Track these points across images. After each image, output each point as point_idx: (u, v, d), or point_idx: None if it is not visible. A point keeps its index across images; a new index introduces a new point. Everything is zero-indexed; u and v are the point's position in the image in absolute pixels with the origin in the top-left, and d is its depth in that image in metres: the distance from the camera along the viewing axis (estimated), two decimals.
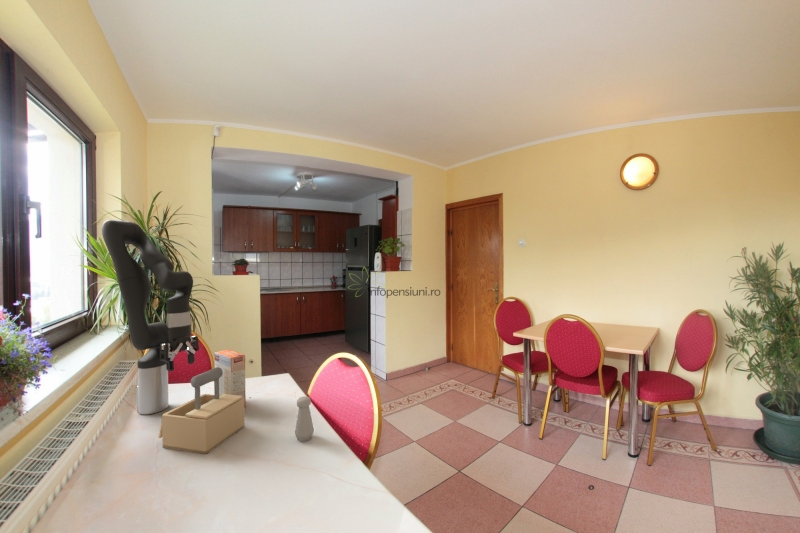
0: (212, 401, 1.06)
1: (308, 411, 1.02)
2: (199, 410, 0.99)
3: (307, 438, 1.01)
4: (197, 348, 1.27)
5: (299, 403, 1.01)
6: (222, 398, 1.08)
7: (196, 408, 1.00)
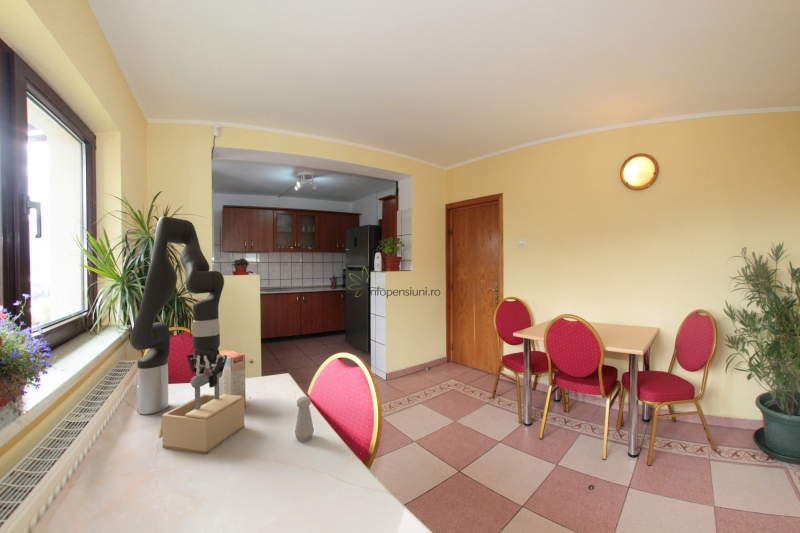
0: (212, 401, 1.06)
1: (308, 411, 1.02)
2: (199, 410, 0.99)
3: (307, 438, 1.01)
4: None
5: (299, 403, 1.01)
6: (222, 398, 1.08)
7: (196, 408, 1.00)
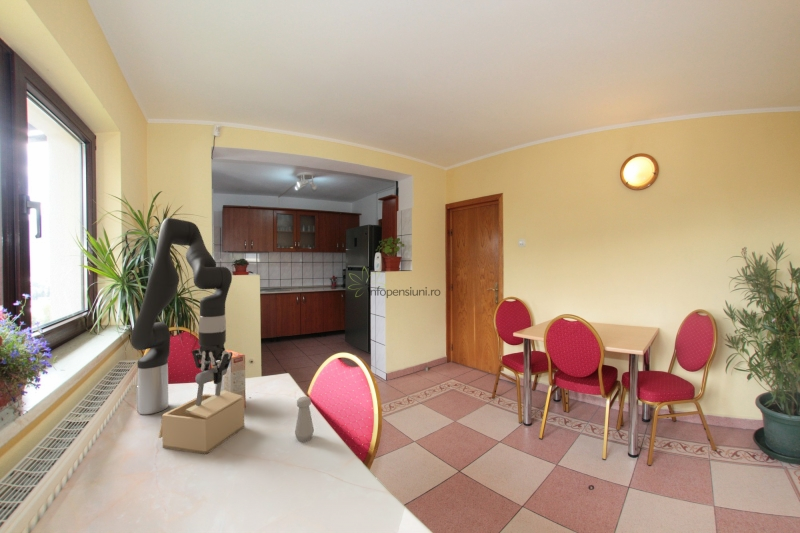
0: (213, 397, 1.05)
1: (308, 411, 1.02)
2: (200, 407, 0.99)
3: (307, 438, 1.01)
4: None
5: (299, 403, 1.01)
6: (223, 395, 1.08)
7: (197, 404, 1.00)
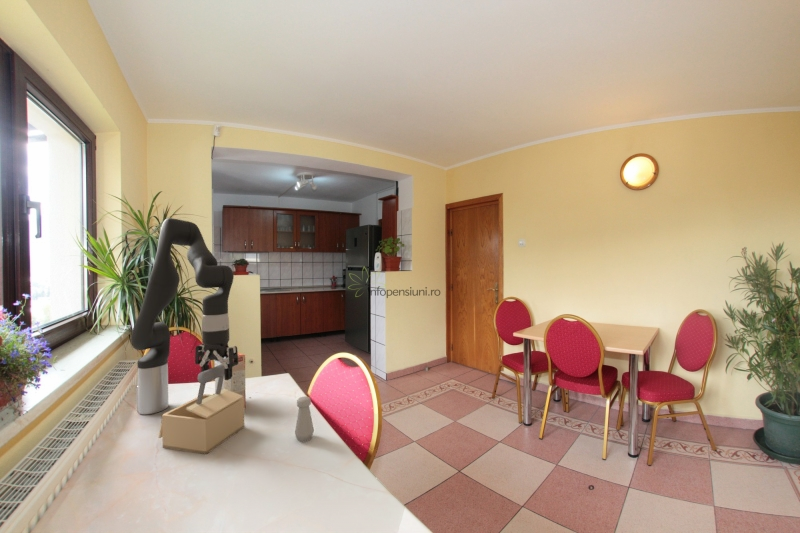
0: (213, 396, 1.05)
1: (308, 411, 1.02)
2: (200, 406, 0.99)
3: (307, 438, 1.01)
4: None
5: (299, 403, 1.01)
6: (223, 394, 1.08)
7: (197, 403, 1.00)
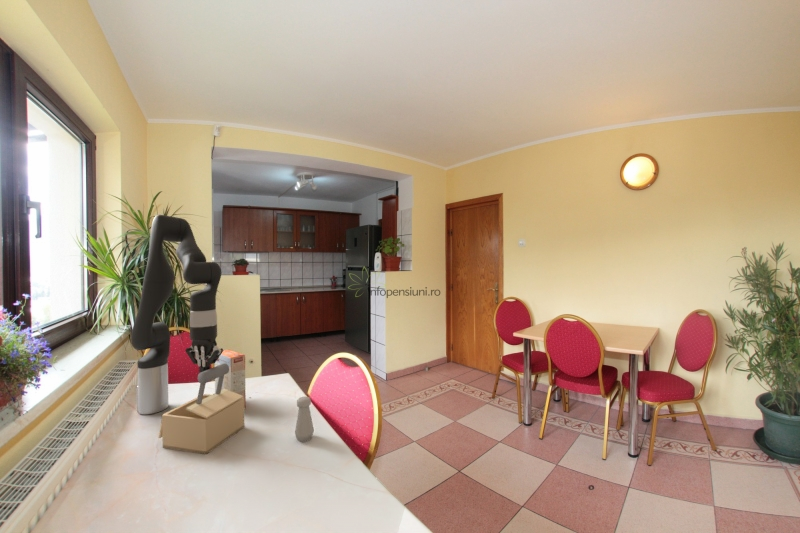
0: (213, 396, 1.05)
1: (308, 411, 1.02)
2: (200, 406, 0.99)
3: (307, 438, 1.01)
4: None
5: (299, 403, 1.01)
6: (223, 394, 1.08)
7: (197, 403, 1.00)
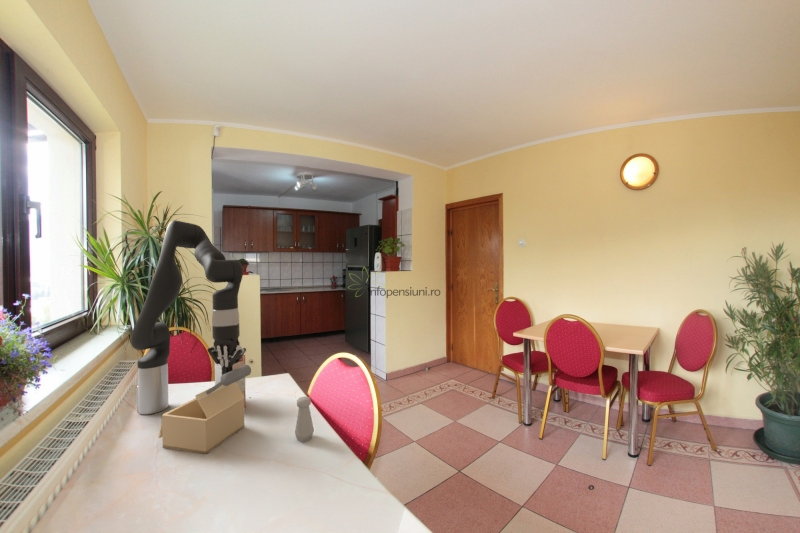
0: (221, 386, 1.05)
1: (308, 411, 1.02)
2: (208, 397, 0.98)
3: (307, 438, 1.01)
4: None
5: (299, 403, 1.01)
6: (230, 387, 1.07)
7: (207, 392, 0.99)
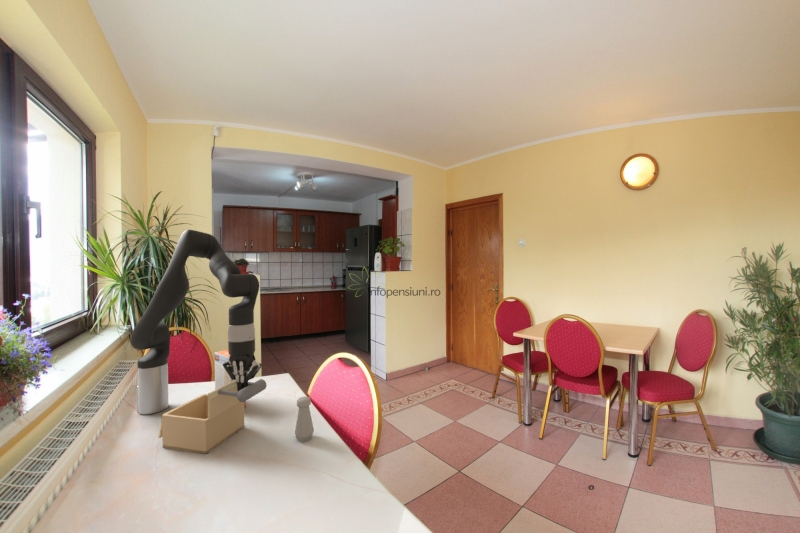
0: (232, 385, 1.04)
1: (308, 411, 1.02)
2: (217, 397, 0.98)
3: (307, 438, 1.01)
4: None
5: (299, 403, 1.01)
6: None
7: (219, 392, 0.98)
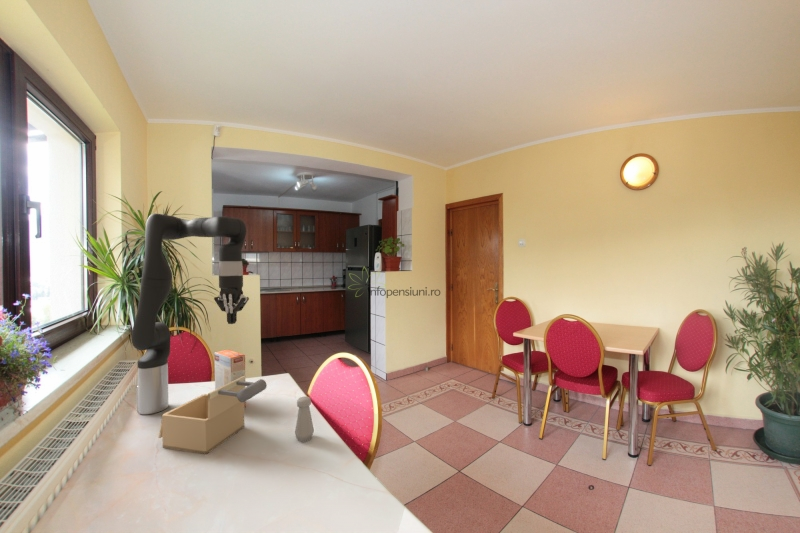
0: (232, 385, 1.04)
1: (308, 411, 1.02)
2: (217, 397, 0.98)
3: (307, 438, 1.01)
4: None
5: (299, 403, 1.01)
6: (238, 387, 1.06)
7: (219, 392, 0.98)
